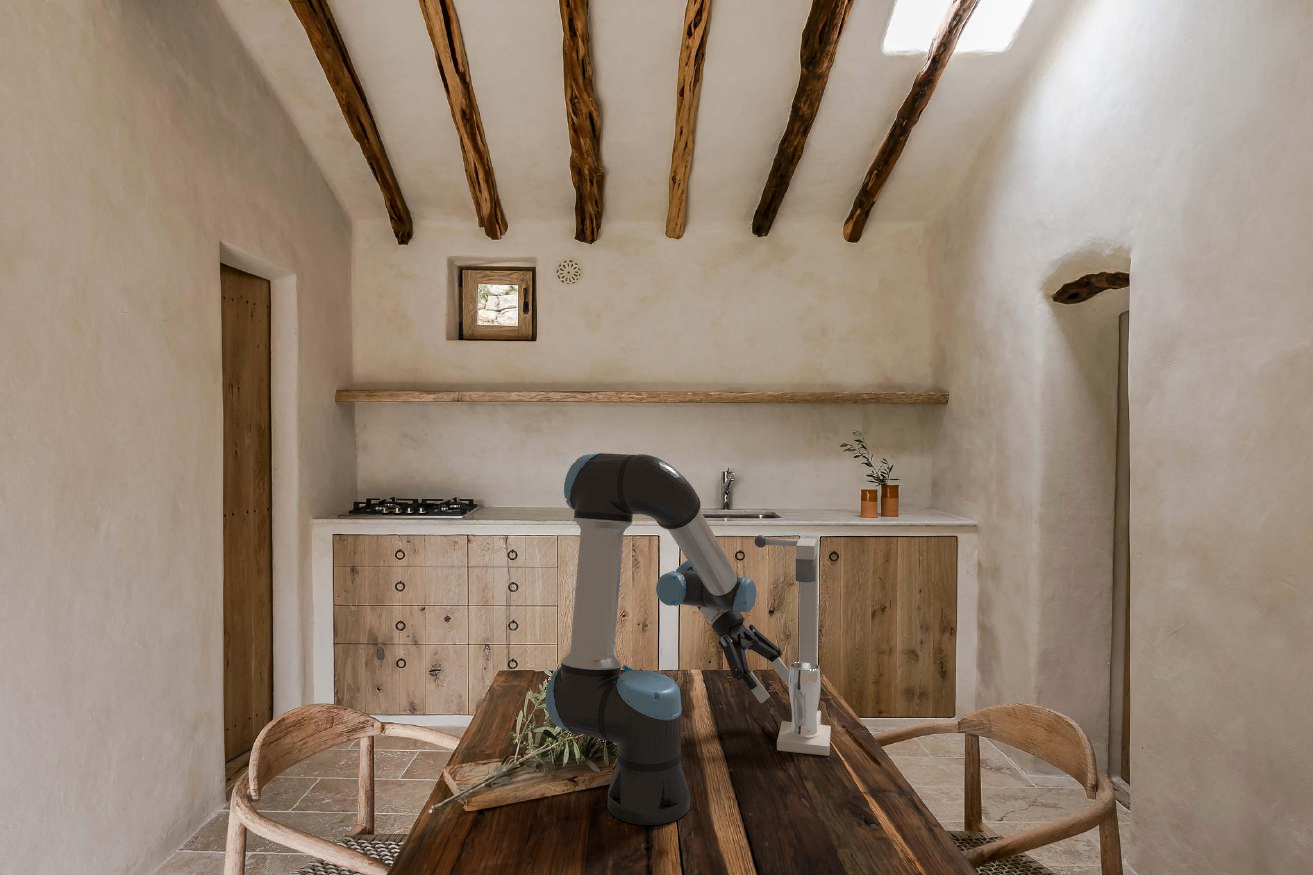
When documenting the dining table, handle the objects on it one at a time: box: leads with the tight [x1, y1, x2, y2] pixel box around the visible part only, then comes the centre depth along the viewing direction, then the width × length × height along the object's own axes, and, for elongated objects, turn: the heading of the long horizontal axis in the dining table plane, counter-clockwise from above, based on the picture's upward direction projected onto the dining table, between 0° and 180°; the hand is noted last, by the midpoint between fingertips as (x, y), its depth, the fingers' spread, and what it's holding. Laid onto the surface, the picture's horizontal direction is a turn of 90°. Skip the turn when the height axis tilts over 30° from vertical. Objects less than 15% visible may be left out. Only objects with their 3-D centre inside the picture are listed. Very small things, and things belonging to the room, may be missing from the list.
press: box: [753, 534, 832, 757], centre depth 175 cm, size 21×18×44 cm
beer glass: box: [788, 661, 822, 738], centre depth 170 cm, size 7×7×15 cm
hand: (779, 691), depth 174 cm, fingers open, 13 cm apart
